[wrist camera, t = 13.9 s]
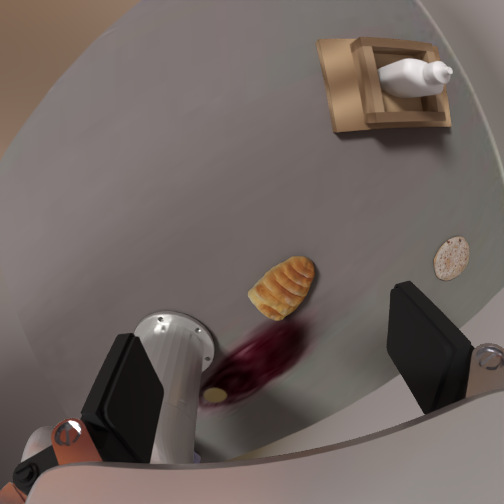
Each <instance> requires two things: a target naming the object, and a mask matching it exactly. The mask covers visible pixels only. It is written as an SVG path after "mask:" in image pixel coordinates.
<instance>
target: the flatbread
mask: <svg viewBox="0 0 504 504" xmlns="http://www.w3.org/2000/svg"><path fill="white" fill-rule="evenodd" d="M468 260H469V245H468V243H467V242H466V240H465V239H464V238H463V237H454V238H451V239H449V240H447V241H446V242H445V243H444V244H443V245H442V246H441V247H440V249H439V250H438V252H437V254H436V256H435V258H434V268H435V273H436V276H437V277H438V278H439V279H441V280H444V281H447V280H451V279H453V278H455V277H457V276H458V275H460V274H461V272H462V271H463V270H464V269H465V268H466V266H467V264H468Z"/></svg>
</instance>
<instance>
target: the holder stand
mask: <svg viewBox="0 0 504 504" xmlns="http://www.w3.org/2000/svg"><path fill="white" fill-rule="evenodd" d="M316 46H317V50H318V55H319V59H320V64H321V68H322V73H323V78H324V83H325V88H326V93H327V98H328V104H329V110H330V115H331V121H332V127H333V132H346V131H357V130H369V129H384V128H404V127H451V119H450V111H449V104H448V97H447V91H446V86H445V84H444V87H443V91H442V92H441V93H440V94H436V95H429V96H422V97H414V98H399V97H395V96H393V95H390V94H388V93H387V92H385V91H383V90H382V89H381V88H380V82H379V77H378V72H377V69H379V68H381V67H384V66H386V65H389V64H392V63H394V62H397V61H400V60H403V59H408V58H410V59H418V60H422V61H424V62H427V63H432V62H435V61H440V57H439V52H438V48H437V46H432V44H431V43H424V42H417V41H409V40H400V39H389V38H374V37H359V38H358V39H319V40H318V41H317V42H316Z"/></svg>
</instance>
